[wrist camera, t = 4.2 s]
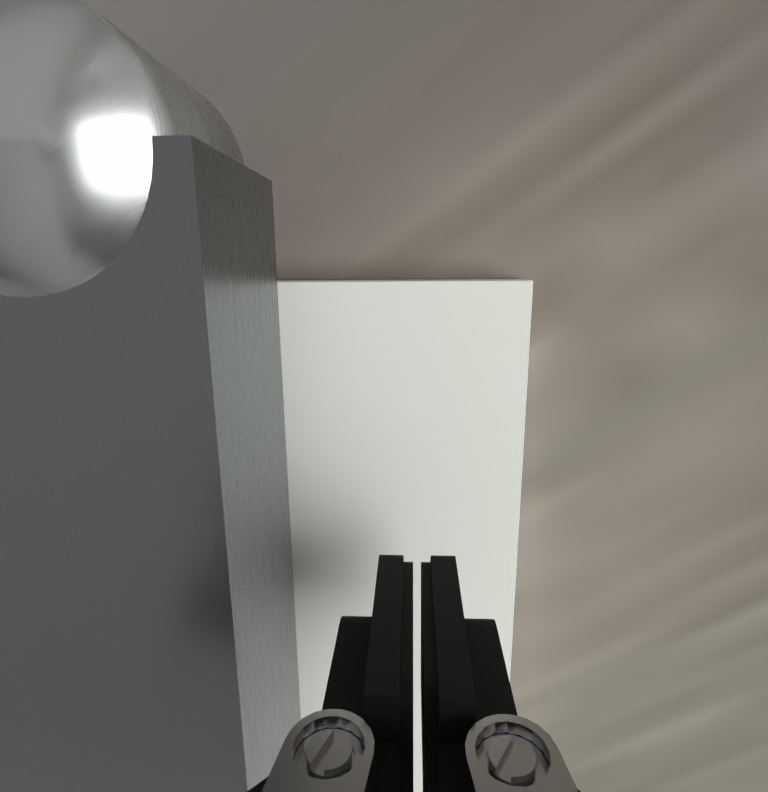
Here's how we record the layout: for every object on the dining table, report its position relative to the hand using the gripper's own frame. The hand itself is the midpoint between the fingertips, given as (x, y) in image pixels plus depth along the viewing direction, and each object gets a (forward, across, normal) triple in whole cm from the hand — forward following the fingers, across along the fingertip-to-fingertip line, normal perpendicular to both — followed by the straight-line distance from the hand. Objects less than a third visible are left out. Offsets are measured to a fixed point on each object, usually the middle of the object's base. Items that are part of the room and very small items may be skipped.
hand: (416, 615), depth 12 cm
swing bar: (+1, +5, +1) cm, 6 cm away
